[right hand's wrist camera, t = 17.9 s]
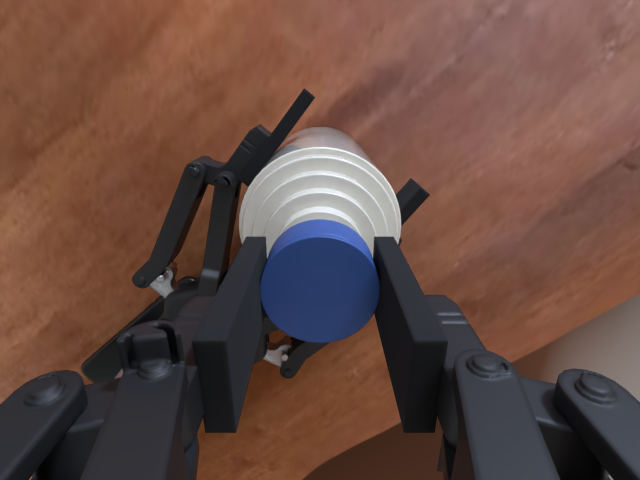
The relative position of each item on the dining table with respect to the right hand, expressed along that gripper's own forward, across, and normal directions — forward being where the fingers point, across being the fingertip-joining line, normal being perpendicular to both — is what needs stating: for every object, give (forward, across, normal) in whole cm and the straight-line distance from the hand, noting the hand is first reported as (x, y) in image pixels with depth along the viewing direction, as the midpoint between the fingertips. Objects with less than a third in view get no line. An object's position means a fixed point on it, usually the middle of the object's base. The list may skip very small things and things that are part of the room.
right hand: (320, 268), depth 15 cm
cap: (-2, 0, 0) cm, 2 cm away
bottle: (+17, 0, 0) cm, 17 cm away
